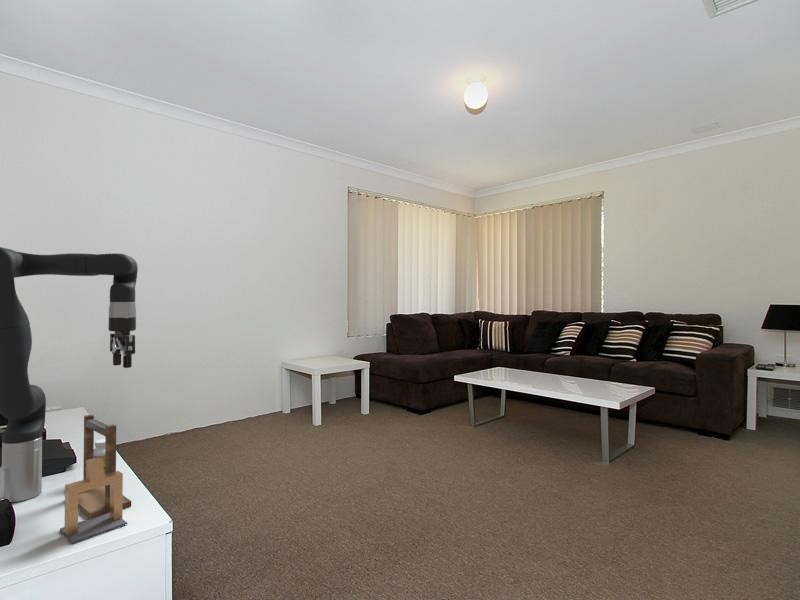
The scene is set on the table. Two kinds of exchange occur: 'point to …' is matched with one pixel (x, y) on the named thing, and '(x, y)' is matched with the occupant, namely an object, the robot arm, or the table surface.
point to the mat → (93, 527)
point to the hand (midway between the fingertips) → (122, 366)
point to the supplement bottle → (100, 450)
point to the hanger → (92, 481)
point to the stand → (99, 498)
